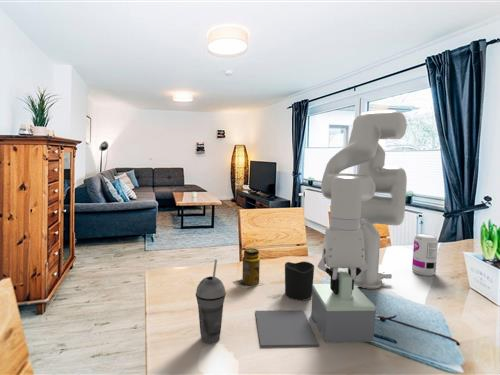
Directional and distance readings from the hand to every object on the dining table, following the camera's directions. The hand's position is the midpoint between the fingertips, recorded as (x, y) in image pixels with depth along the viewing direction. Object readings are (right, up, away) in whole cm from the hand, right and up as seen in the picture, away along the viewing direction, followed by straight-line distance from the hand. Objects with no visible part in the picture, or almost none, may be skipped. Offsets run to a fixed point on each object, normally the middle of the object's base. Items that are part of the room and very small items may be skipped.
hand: (341, 291), depth 84 cm
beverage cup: (-34, -10, -6) cm, 36 cm away
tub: (0, -10, +1) cm, 10 cm away
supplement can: (+45, -7, +43) cm, 62 cm away
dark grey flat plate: (-15, -10, 0) cm, 18 cm away
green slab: (0, -3, 0) cm, 3 cm away
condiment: (-25, -7, +29) cm, 39 cm away
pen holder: (-8, -8, +20) cm, 23 cm away
